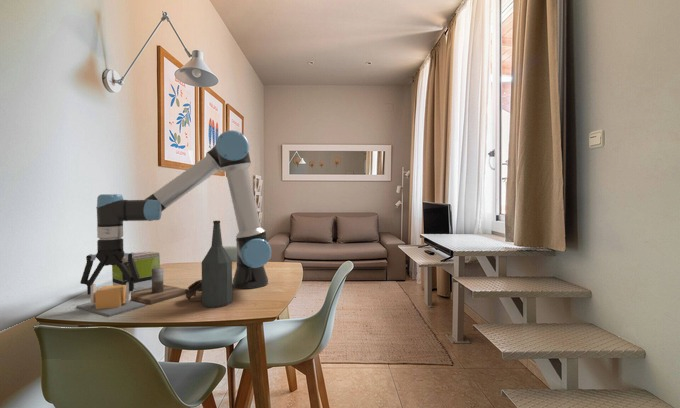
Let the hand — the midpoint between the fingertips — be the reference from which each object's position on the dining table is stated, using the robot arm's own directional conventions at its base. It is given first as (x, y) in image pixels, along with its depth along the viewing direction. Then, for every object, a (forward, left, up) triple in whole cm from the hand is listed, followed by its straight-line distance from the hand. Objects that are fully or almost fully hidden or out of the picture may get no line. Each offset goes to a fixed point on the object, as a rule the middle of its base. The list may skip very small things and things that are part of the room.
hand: (111, 301), depth 118 cm
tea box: (+16, -19, -2) cm, 25 cm away
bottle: (-30, -20, -2) cm, 36 cm away
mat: (0, 0, -2) cm, 2 cm away
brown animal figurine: (-20, -21, -2) cm, 29 cm away
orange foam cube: (0, 0, -1) cm, 1 cm away
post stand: (-2, -16, -2) cm, 16 cm away
